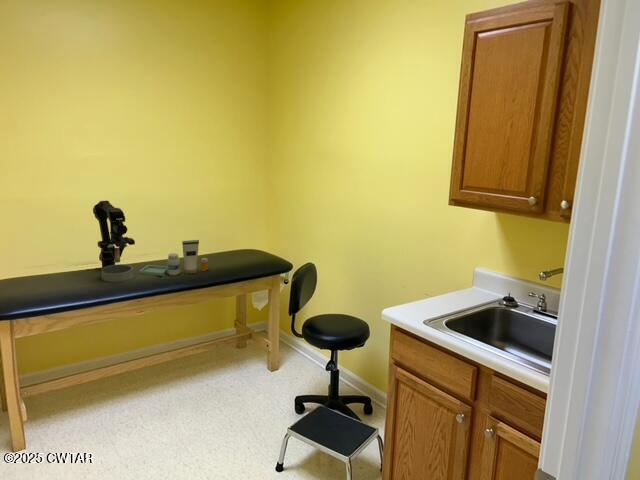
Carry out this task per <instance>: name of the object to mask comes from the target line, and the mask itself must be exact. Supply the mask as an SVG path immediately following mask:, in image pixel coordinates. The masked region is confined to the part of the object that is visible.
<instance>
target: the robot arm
mask: <svg viewBox="0 0 640 480" xmlns="http://www.w3.org/2000/svg"><path fill="white" fill-rule="evenodd" d="M92 213H93V215H94V218H95V219H96V220H97V221H98V225H99V230H100V236H101V240H98V242H97V247H98V248H100V253H99V255H98V259H99V261H100V262H101V269H102V268H104V267H105V266H110V265H116V263H115V262H114V258H115V254H114V248H120V258H121V257H122V255H123V252H124V249H125V248H127V247H128V245H129V246H133V245H135V244H136V242H135V239H133V238H132V237H128V236H124V235H125V234H126V233H127V232H128V226H126V225H125V224H124V222H125V223H126V217H125V213H124V211H123V210H122V209H121V208H120V207H116V206H114V205H113V204H112V203H110V200H100V201H99V202H98V203H97V204H95V205H94V206H93V208H92ZM108 221H109V222H108ZM108 223H109V224H108ZM109 226H110V227H109ZM127 244H128V245H127Z"/></svg>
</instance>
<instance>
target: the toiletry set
mask: <svg viewBox="0 0 640 480" xmlns="http://www.w3.org/2000/svg"><path fill="white" fill-rule="evenodd" d="M181 243H182V254H183V255H182V257H183V267H184V268H183V270H184V271H183V272H184V274H187V273H194V274H196V273H197V272H198V256H199V255H198V254H199V245H200V244H199V243H200V239H193V240H182V241H181ZM167 255H168V258H167V259H166V267H167V274H166V275H168V274H169V276H178V275H180V274H179V273H181V261H180V258H179V254H178V253H176V252H175V253H173V252H172V253H169V254H167ZM208 265H209V259H208V258H207V257H203V258H201V259H200V267H201V268H200V269H201V270H202V271H201V272H203V271H205V272H207V271H206V270H208V267H209V266H208ZM177 274H178V275H177Z"/></svg>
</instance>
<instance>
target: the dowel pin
mask: <svg viewBox="0 0 640 480" xmlns="http://www.w3.org/2000/svg"><path fill="white" fill-rule="evenodd" d="M114 254H115V258H114V262H115V264H119V263H120V262H121V257H120V248H119V247H115V248H114Z"/></svg>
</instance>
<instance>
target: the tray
mask: <svg viewBox="0 0 640 480" xmlns="http://www.w3.org/2000/svg"><path fill="white" fill-rule="evenodd" d="M166 273H167V265H166V266H165V265H164V266H163V265H154V264H153V265H152V264H147V265H145V266H144V267H143V268H141V269H140V270H138V274H139V275H148V276H149V275H151V276H156V277H157V276H163V275H164V274H165V275H167V274H166ZM165 275H164V276H165ZM164 276H163V277H164Z"/></svg>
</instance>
